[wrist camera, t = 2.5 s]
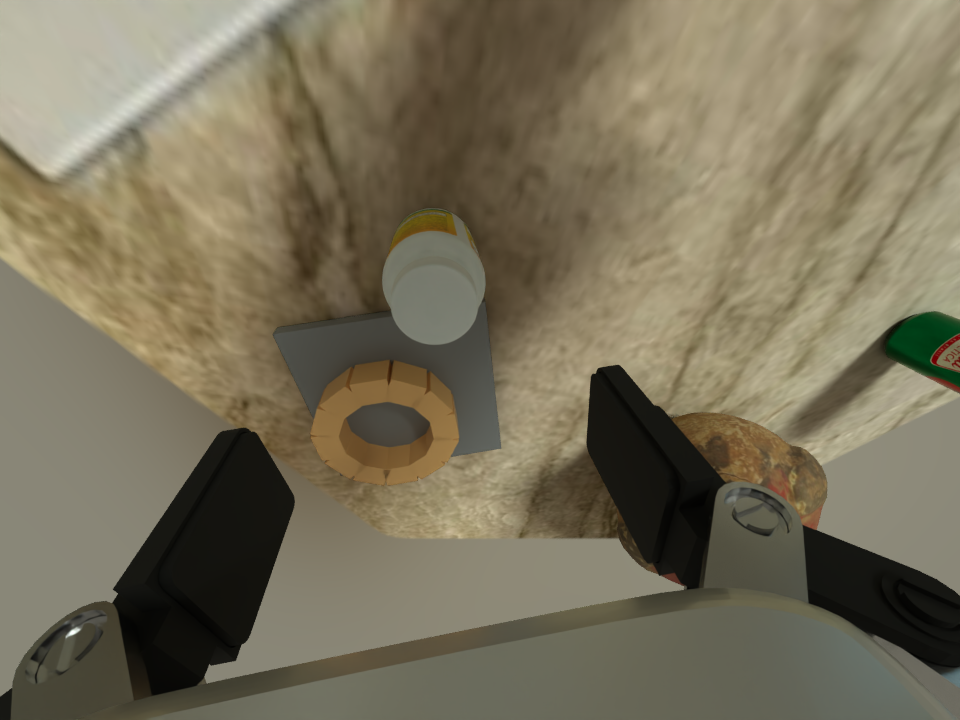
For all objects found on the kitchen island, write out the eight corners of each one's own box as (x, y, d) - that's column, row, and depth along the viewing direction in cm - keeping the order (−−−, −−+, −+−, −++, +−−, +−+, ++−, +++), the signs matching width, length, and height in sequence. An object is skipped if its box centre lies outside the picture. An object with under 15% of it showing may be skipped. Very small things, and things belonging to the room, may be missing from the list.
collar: (444, 351, 28) (446, 369, 26) (463, 451, 34) (466, 472, 32) (298, 373, 27) (288, 394, 25) (344, 471, 34) (339, 494, 31)
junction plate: (483, 296, 27) (485, 302, 26) (499, 440, 35) (501, 448, 34) (277, 327, 26) (272, 334, 26) (342, 467, 35) (340, 475, 34)
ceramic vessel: (708, 303, 30) (1374, 730, 9) (767, 464, 43) (1093, 790, 22) (531, 411, 34) (700, 880, 13) (634, 528, 47) (802, 855, 26)
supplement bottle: (489, 240, 25) (518, 296, 17) (442, 300, 27) (449, 375, 19) (421, 187, 23) (418, 222, 15) (377, 256, 25) (352, 321, 17)
